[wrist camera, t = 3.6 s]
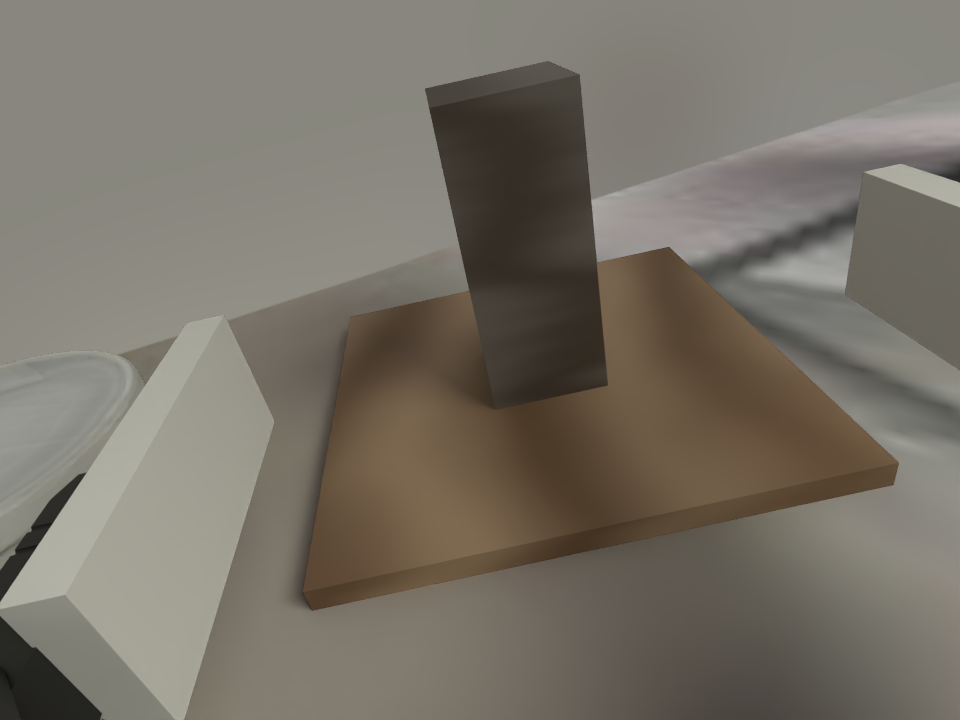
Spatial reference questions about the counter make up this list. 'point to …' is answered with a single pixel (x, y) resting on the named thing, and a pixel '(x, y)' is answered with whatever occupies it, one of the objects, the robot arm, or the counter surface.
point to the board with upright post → (555, 381)
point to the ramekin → (55, 428)
